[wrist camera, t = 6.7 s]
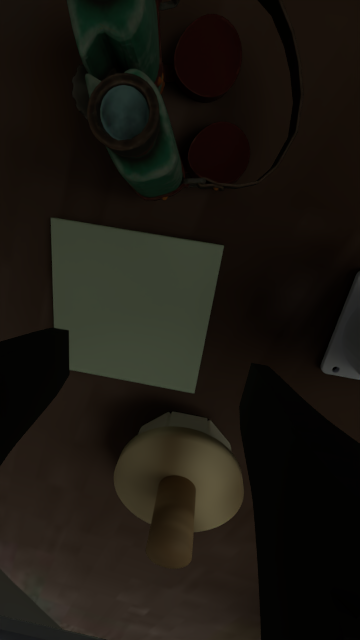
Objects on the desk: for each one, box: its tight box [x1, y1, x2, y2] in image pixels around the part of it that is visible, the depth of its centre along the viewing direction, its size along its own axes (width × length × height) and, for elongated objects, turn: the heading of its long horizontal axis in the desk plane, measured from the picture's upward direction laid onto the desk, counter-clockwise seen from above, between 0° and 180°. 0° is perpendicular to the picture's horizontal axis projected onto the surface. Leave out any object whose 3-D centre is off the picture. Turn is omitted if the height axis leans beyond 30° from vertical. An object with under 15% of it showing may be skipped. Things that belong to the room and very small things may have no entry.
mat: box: [51, 218, 224, 393], centre depth 21 cm, size 12×12×1 cm
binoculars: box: [67, 0, 304, 201], centre depth 12 cm, size 9×11×10 cm
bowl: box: [138, 411, 231, 451], centre depth 24 cm, size 8×8×3 cm
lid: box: [114, 426, 244, 569], centre depth 20 cm, size 10×10×6 cm
